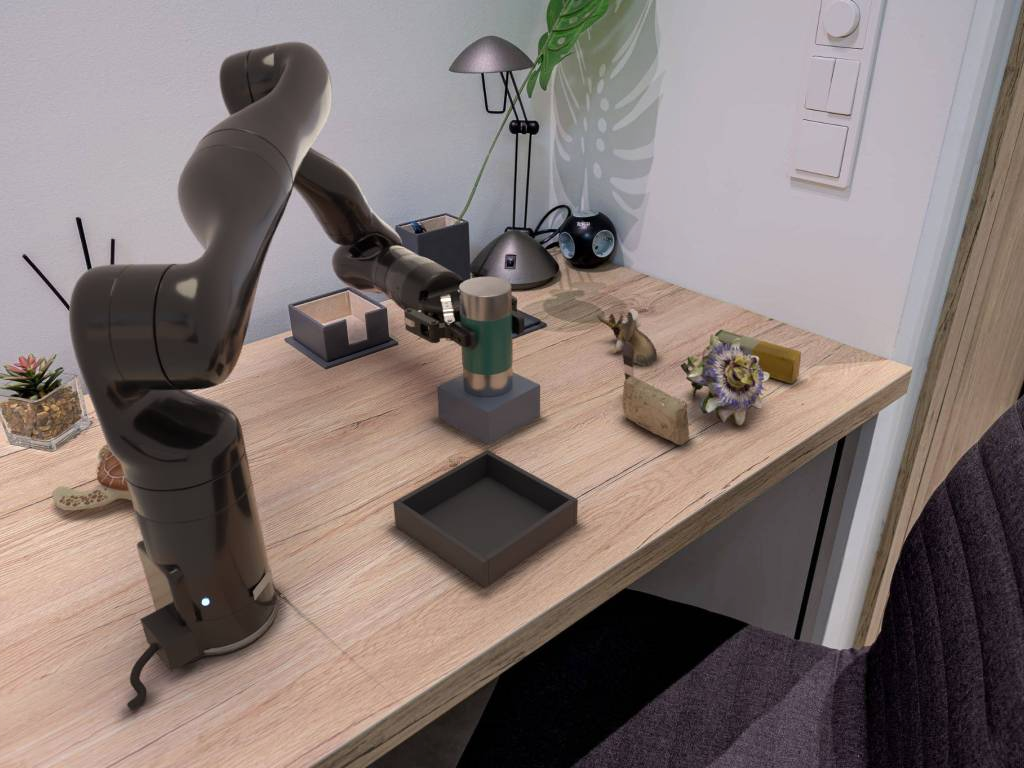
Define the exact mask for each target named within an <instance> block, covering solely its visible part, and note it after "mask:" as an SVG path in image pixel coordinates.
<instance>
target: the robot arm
mask: <svg viewBox="0 0 1024 768" xmlns="http://www.w3.org/2000/svg"><path fill="white" fill-rule="evenodd" d="M325 61H326V60H324V58H323V56H322V55H321V54H320V53H319V52H318V51H317V49H315V48H314V47H313V46H311V45H310V44H308V43H305V42H301V41H286V42H281V43H280V42H279V43H276V44H272V45H266V46H261V47H257V48H251V49H248V50H247V49H246V50H243V51H239V52H235V53H233V54H230V55H229V56H227V57H225V58H224V59H223V61H222V63H221V64H220V69H219V74H218V75H219V77H218V79H219V89H220V94H221V97H222V101H223V103H224V106H225V109H226V110H227V112H228V114H229V115H228V117H226V118H224V119H223V120H222V121H220V122H219V123H217V124H215V125H214V126H213V127H212V128H211V129H210V130H208V132H207V133H205V135H203V136H202V138H201V139H200V141H199V142H198V143H197V145H196V147H195V148H194V150H193V152H192V153H191V155H190V157H189V158H188V160H187V161H186V163H185V165H184V166H183V169H182V171H181V173H180V175H179V179H178V182H177V189H176V191H177V201H178V206H179V208H180V212H181V214H182V217H183V219H184V222H185V223H186V225H187V227H188V228H189V230H190V231H191V233H192V234H193V236H194V237H195V240H197V242H198V243H199V244H200V246H201V247H202V248H203V250H204V252H203V254H201V256H200V257H198V258H196V259H195V260H193V261H191V262H185V263H121V264H102V265H97V266H94V267H92V268H89V269H87V270H86V271H84V272H83V274H81V276H80V277H79V278H78V279H77V281H76V282H75V284H74V286H73V289H72V292H71V296H70V300H69V309H68V323H69V324H68V325H69V334H70V339H71V344H72V349H73V353H74V357H75V360H76V363H77V366H78V369H79V373H80V375H81V378H82V380H83V383H84V386H85V387H86V390H87V393H88V396H89V398H90V402H91V404H92V406H93V409H94V412H95V414H96V417H97V420H98V423H99V425H100V426H99V427H100V428H101V431H102V434H103V437H104V440H105V442H106V445H108V447H109V449H110V451H111V452H112V454H113V455H114V456H115V457H116V458H117V460H118V461H119V462H120V464H121V467H122V470H123V473H124V476H125V480H126V483H127V487H128V490H129V493H130V497H131V500H130V501H131V503H132V507H133V512H134V513H135V517H136V521H137V524H138V527H139V531H140V535H141V537H142V538H141V539H142V540H140V541H138V542H137V543H136V548H137V552H138V556H139V559H140V562H141V566H142V568H143V573H144V575H145V579H146V582H147V585H148V589H149V592H150V597H151V598H152V603H153V605H154V609H155V611H153V612H151V613H149V614H147V615H146V616H144V617H141V618H140V622H141V626H142V629H143V633H144V635H145V639H146V642H147V645H149V646H148V648H146V650H145V651H144V652H143V653H142V655H141V656H140V657H139V658H138V659H137V661H135V663H134V665H133V667H132V669H131V671H130V675H129V682H130V686H131V687H132V688H133V690H134V691H136V693H137V694H136V696H135V697H134V698H132V699H131V700H129V701H128V702H127V704H126V705H127V708H129V709H130V710H132V711H134V710H136V709H137V708H138V707H140V706H141V705H142V704H143V703H144V702H145V700H146V698H147V695H148V692H147V691H148V690H147V687H146V686H145V684H144V683H143V682H142V681H141V678H140V677H141V674H142V671H143V669H144V667H145V666H146V665H147V663H148V662H149V661H150V660H151V659H152V658H153V656H154V655H157V656H158V657H159V658H160V659H161V661H162V662H163V663H164V665H165V666H166V667H167V668H168V669H169V670H170V671H171V672H173V671H175V670H177V669H178V668H180V667H182V666H183V665H186V663H188V662H196V661H198V660H200V659H201V658H203V657H206V656H217V655H222V654H226V653H227V654H228V653H230V652H234V651H237V650H239V649H242V648H243V647H245V646H248V645H249V644H251V643H253V642H254V641H256V640H257V639H258V638H259V637H261V636H262V635H263V634H264V633H265V632H266V631H267V630H268V629H269V628H270V627H271V625H272V624H273V622H274V620H275V618H276V616H277V614H278V609H279V601H278V596H277V593H276V590H275V589H276V588H275V585H274V581H273V573H272V569H271V567H270V562H269V558H268V553H267V548H266V544H265V538H264V534H263V529H262V528H263V527H262V523H261V519H260V513H259V509H258V504H257V503H258V502H257V500H256V495H255V494H256V493H255V490H254V489H255V488H254V485H253V480H252V474H251V469H250V466H249V465H250V464H249V460H248V454H247V449H246V443H245V439H244V434H243V433H244V432H243V428H242V424H241V422H240V419H239V418H238V416H237V415H236V414H235V413H234V411H233V410H232V409H230V408H229V407H227V406H225V405H224V404H222V403H220V402H218V401H215V400H213V399H210V398H206V397H204V396H201V395H198V394H195V393H193V392H191V391H196V390H205V389H210V388H214V387H217V386H219V385H221V384H222V383H224V382H225V381H226V380H227V379H228V378H229V377H230V376H231V374H232V373H233V371H234V369H235V368H236V365H238V361H239V359H240V356H241V353H242V351H243V347H244V343H245V339H246V335H247V331H248V327H249V323H250V319H251V315H252V310H253V306H254V303H255V302H254V301H255V298H256V293H257V290H258V285H259V282H260V277H261V274H262V270H263V266H264V263H265V261H266V258H267V255H268V253H269V249H270V247H271V244H272V241H273V239H274V237H275V234H276V232H277V230H278V227H279V225H280V223H281V220H282V219H283V217H284V214H285V212H286V209H287V207H288V204H289V200H290V198H291V197H292V192H293V190H295V191H296V192H297V194H299V196H300V197H301V198H302V199H303V201H304V202H305V204H306V205H307V206H308V208H309V210H310V211H311V213H312V214H313V216H314V217H315V219H316V221H317V222H318V223H319V226H320V227H321V228H322V231H324V233H325V234H326V236H327V238H328V239H329V240H330V241H332V242H333V243H334V244H336V245H339V246H338V247H337V248H335V250H334V252H333V253H332V257H331V266H332V269H333V272H334V274H335V276H336V277H337V279H339V280H340V281H341V282H342V283H343V284H345V285H346V286H348V287H349V288H352V289H353V290H356V291H359V292H363V293H371V294H380V295H384V296H385V297H387V298H389V299H390V300H391V301H393V302H394V303H395V304H396V305H397V307H399V308H400V309H401V310H403V313H404V315H403V316H404V326H405V330H406V331H408V332H410V333H411V334H414V335H415V336H417V337H420V338H421V339H423V340H425V341H427V342H429V343H431V344H438V343H440V342H441V339H445V341H448V342H454V343H456V344H457V345H458V346H460V347H461V346H462V347H466V348H467V349H469V350H472V349H475V348H476V347H477V342H476V333H475V332H474V331H473V330H472V329H470V328H468V327H467V326H465V325H463V324H462V323H460V294H459V286H460V284H461V283H462V282H464V281H465V280H463V278H462V277H461V276H460V275H459V274H458V273H456V272H454V271H452V270H450V269H448V268H446V267H445V266H443V265H441V264H440V263H438V262H435V261H434V260H432V259H431V258H430V259H429V258H428V257H424V256H422V255H419V254H417V253H416V252H414V251H412V250H410V249H408V248H406V247H404V243H403V240H402V238H401V236H400V235H399V233H398V232H397V231H396V230H395V229H394V228H393V227H392V226H390V225H389V224H387V222H385V221H384V220H383V219H381V218H380V217H379V215H377V214H376V212H375V211H374V210H373V209H372V207H371V206H370V205H369V202H368V200H367V198H366V197H365V194H364V193H363V190H362V189H361V187H360V185H359V183H358V182H357V181H356V179H355V178H354V177H353V175H352V174H351V173H350V172H349V171H348V170H347V169H346V168H344V167H343V166H342V165H340V164H339V163H338V162H336V161H334V160H333V159H332V158H330V157H328V156H326V155H325V154H323V153H321V152H319V151H318V150H316V149H314V148H312V146H313V144H314V142H315V141H316V140H317V138H318V137H319V135H320V134H321V132H322V131H323V129H324V127H325V126H326V124H327V121H328V119H329V117H330V114H331V111H332V110H331V109H332V103H333V83H332V78H331V74H330V71H329V68H328V66H327V63H326V62H325ZM524 333H525V317H524V315H523V314H520V313H518V298H517V297H516V296H514V295H512V334H515V335H517V336H519V335H522V334H524ZM462 347H461V348H462Z"/></svg>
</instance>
